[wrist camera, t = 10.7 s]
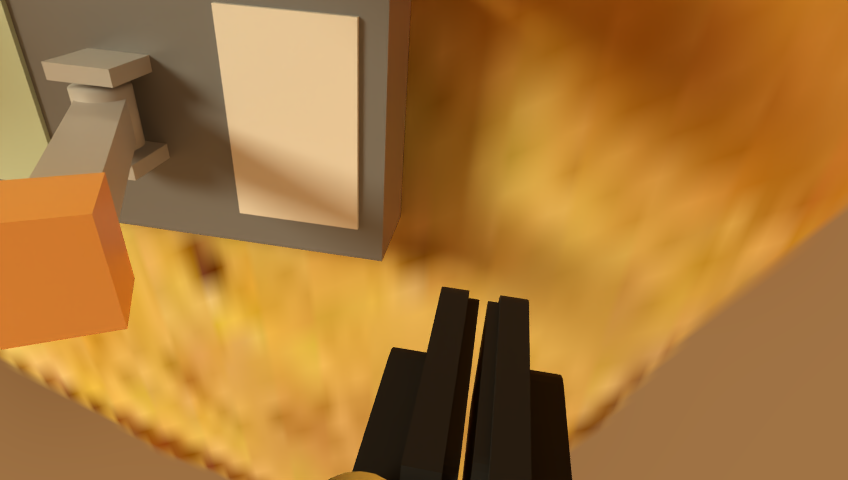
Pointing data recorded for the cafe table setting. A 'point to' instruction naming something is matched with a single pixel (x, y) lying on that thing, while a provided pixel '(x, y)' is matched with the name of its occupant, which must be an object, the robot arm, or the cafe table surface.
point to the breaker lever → (71, 225)
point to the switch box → (228, 110)
